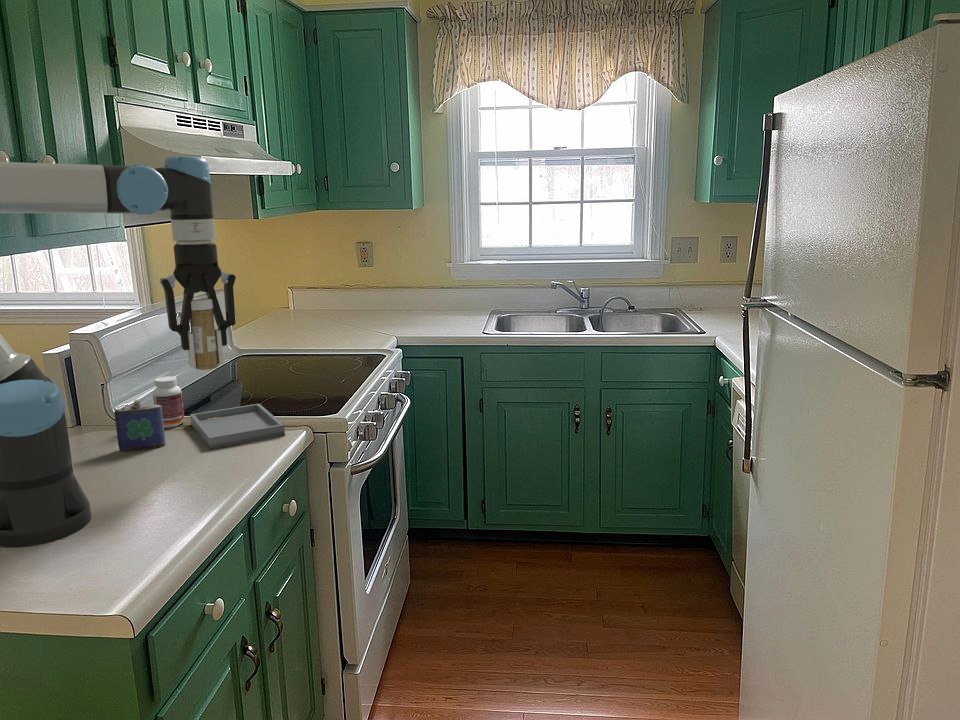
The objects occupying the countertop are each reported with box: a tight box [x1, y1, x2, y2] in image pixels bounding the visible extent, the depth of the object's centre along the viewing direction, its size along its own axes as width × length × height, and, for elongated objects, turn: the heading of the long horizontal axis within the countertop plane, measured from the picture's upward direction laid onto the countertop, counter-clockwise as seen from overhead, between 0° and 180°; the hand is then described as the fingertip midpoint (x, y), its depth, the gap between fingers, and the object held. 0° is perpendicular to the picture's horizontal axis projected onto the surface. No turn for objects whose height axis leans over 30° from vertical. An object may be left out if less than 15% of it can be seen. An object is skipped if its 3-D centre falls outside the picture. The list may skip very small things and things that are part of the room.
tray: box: [189, 403, 286, 450], centre depth 172 cm, size 16×20×2 cm
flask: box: [114, 399, 167, 453], centre depth 160 cm, size 9×3×11 cm, turn 112°
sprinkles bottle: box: [189, 297, 220, 371], centre depth 145 cm, size 5×5×13 cm
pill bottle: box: [152, 375, 185, 429], centre depth 176 cm, size 6×6×11 cm
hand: (206, 364), depth 146 cm, fingers closed on sprinkles bottle, 4 cm apart
